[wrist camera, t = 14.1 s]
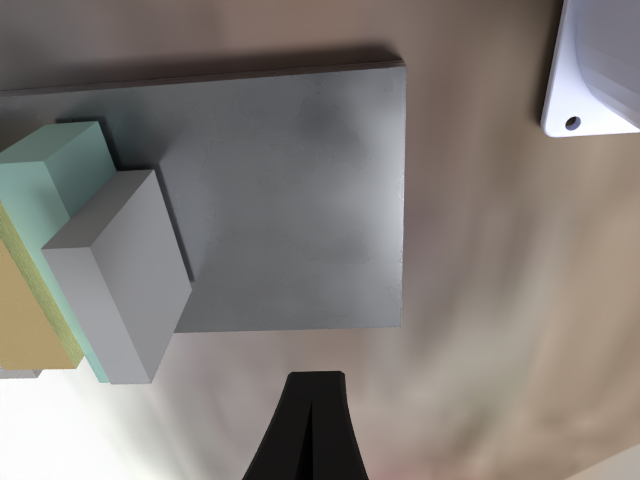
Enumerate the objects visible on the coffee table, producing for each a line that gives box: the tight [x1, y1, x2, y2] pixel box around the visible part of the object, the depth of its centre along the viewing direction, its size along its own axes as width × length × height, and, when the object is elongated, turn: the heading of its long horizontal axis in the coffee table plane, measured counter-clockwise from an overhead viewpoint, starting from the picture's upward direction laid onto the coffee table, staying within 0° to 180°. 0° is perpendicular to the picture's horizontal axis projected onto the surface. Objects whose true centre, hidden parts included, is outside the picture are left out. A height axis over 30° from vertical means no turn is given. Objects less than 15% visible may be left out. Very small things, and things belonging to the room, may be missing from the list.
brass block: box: [0, 201, 84, 370], centre depth 18 cm, size 3×7×4 cm, turn 5°
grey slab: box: [0, 60, 406, 379], centre depth 18 cm, size 20×12×6 cm, turn 95°
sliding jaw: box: [0, 121, 192, 384], centre depth 17 cm, size 4×10×5 cm, turn 5°
